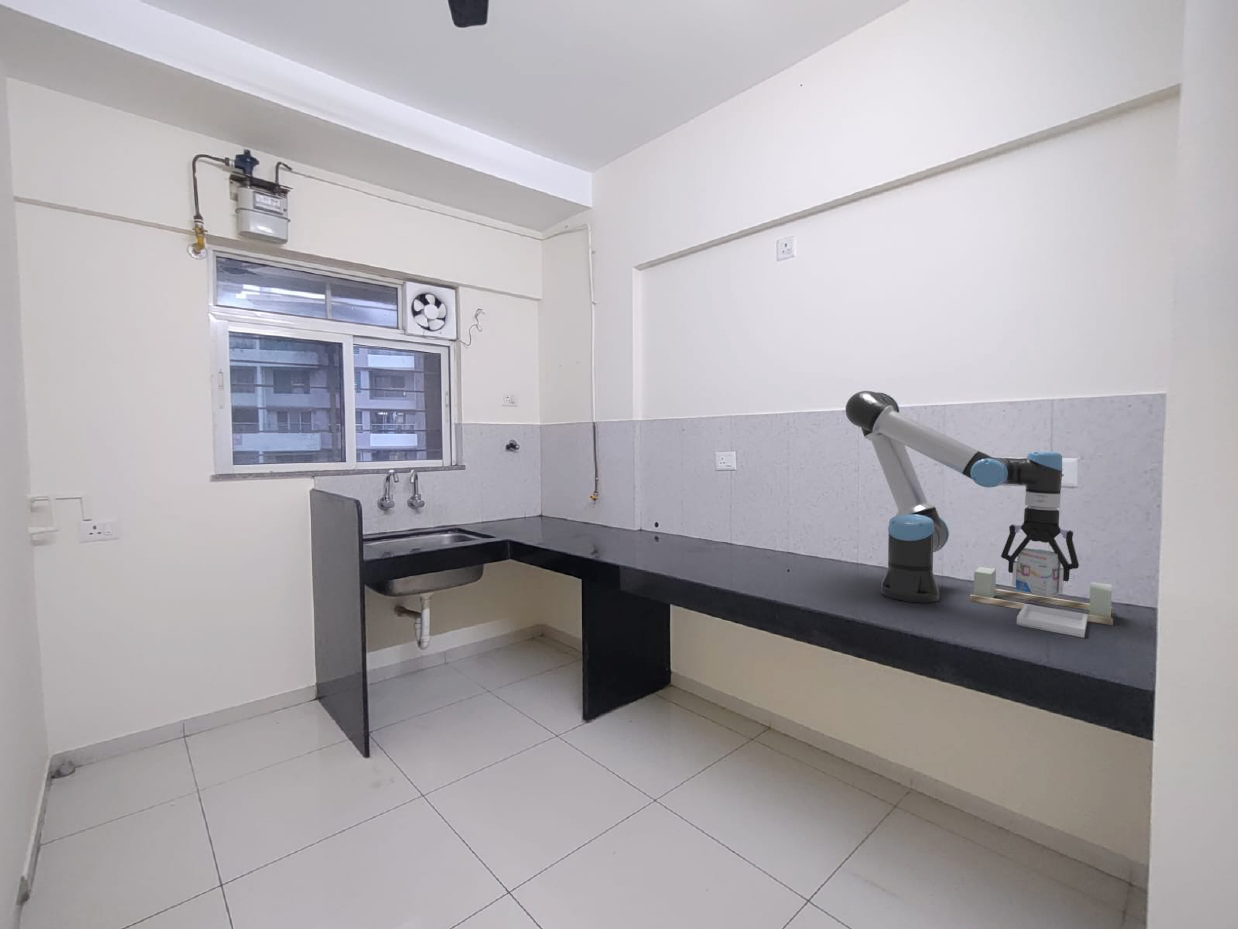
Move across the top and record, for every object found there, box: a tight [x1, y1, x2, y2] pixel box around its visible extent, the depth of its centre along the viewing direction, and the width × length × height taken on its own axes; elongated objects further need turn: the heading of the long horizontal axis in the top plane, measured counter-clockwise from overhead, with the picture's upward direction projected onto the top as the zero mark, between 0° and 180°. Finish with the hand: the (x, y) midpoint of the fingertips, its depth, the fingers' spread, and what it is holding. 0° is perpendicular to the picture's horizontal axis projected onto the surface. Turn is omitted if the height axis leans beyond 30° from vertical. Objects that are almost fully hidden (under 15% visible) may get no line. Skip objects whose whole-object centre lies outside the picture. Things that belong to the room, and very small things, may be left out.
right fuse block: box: [1088, 581, 1113, 618], centre depth 137 cm, size 4×8×8 cm, turn 136°
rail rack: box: [969, 588, 1114, 626], centre depth 145 cm, size 30×13×2 cm, turn 46°
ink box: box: [1015, 546, 1062, 598], centre depth 145 cm, size 9×5×12 cm, turn 21°
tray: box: [1016, 603, 1089, 639], centre depth 132 cm, size 13×15×2 cm
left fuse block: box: [973, 566, 997, 598], centre depth 154 cm, size 4×8×8 cm, turn 136°
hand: (1037, 588), depth 146 cm, fingers closed on ink box, 9 cm apart
